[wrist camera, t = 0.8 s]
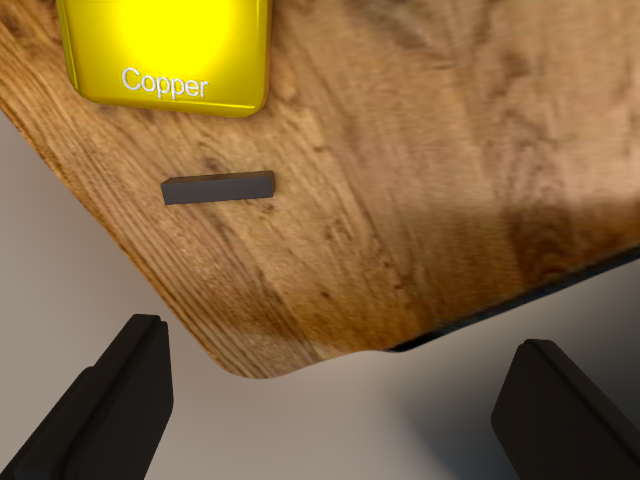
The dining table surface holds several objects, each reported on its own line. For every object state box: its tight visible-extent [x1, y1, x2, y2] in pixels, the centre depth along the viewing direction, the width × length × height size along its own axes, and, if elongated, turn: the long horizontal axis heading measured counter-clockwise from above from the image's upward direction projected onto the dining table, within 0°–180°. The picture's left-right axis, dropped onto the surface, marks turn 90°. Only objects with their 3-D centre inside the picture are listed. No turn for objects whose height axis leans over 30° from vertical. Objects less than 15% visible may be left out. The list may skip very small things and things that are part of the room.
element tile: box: [56, 0, 273, 118], centre depth 27 cm, size 15×15×5 cm
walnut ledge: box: [160, 171, 275, 205], centre depth 34 cm, size 2×10×2 cm, turn 94°
